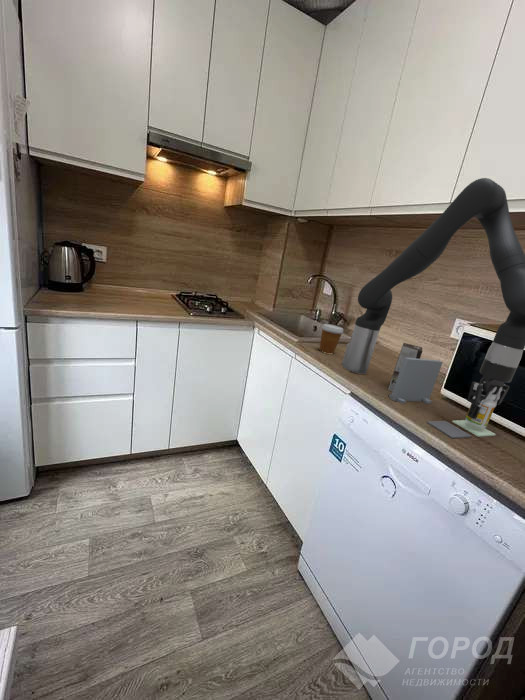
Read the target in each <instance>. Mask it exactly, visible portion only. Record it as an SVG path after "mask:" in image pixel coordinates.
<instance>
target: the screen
mask: <svg viewBox="0 0 525 700" xmlns="http://www.w3.org/2000/svg"><path fill="white" fill-rule="evenodd" d="M443 363H444V362H443V361H442V360H437V359H424V358H420V359H416V358H404V360H403V363H402V366H401V369H400V372H399V375H398V378H397V381H396V384H395V387H394V390H393V391H392V393H389V395H388V397H389V398H390V400H391V401H393V402H397V403H399V404H400V405H402V404H403V405H404V404H406V403H407V402H423V403H425V404H429V405H430V404H431V403H432V400H431V399H430V397H431V395H432V393H433V390H434V388H435V384H436V382H437V379H438V376H439V374H440V371H441V368H442V366H443Z"/></svg>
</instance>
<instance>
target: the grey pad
mask: <svg viewBox="0 0 525 700" xmlns="http://www.w3.org/2000/svg"><path fill="white" fill-rule="evenodd" d="M426 424H427V425H429V426H431V427H433V428H434V429H436V430H438V431H439V432H441V433H442V434H443V435H445V436H447V437H449V438H450V439H452V440H453V439H465V438H467V439H468V438H472V437H473V435H471V434H469V433H468V432H465V431H464V430H463V429H462V428H461V429H460V428H459V427H457V426H455V425H454V424H452V423H450V422H448V421H447V420H436V421H435V420H433V421H432V420H431V421H429V420H428V421H426Z"/></svg>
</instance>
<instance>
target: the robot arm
mask: <svg viewBox="0 0 525 700" xmlns="http://www.w3.org/2000/svg"><path fill="white" fill-rule="evenodd" d="M473 218H476V219H477V220H478V221H479V224H481V226H482V227H483V229H484V231H485V234H486V236H487V237H486V238H487V240H488V247H489V256H490V259H491V263H492V266H493V268H494V271H495V273H496V276H497V278H498V280H499V284H500V289H501V295H502V299H503V302H504V304H505V306H506V308H507V309H508V311H509V314H508V316H507V318H506V320H505V321H504V322H502V323H501V324H500V325H499V326H498V328H497V330H496V333H495V335H494V336H493V337H494V338H493V340H492V343H491V345H489V347H488V349H487V352H486V355H485V357H484V360H483V362H482V364H481V367H480V369H479V374H480V375H482V377H481V379H480V381H479V382H476V381H472V382H471V385H470V388H469V392H468V397H467V400H466V401H467V402H469V403H470V406H471V407H469V408H470V409H468V411H469V412H468V411H467V413H468V414H467V413H466V416H467V415H468V416H469V417H471V418H473V419H476V418H477V415H478V413H479V411H480V408H481V406H482V404H483V403H484V401H487V400H488V399H489V397H490V396H491V395H492V394H496V398H495V400H493V402H495V407H497V405H498V406H499V405H501V404H502V403H503V400H504V398H505V397H506V395H507V394H508V391H509V389H510V385H506V384H505V383H511V382H512V380H513V378H514V376H515V374H516V371H517V369H518V367H519V364H520V361H521V359H522V357H523V353H524V350H525V252H524V250H523V247H522V245H521V243H520V240H519V238H518V236H517V234H516V231H515V229H514V225H513V223H512V220H511V219H512V217H511V215H510V209H509V203H508V200H507V194H506V191H505V189H504V187H502V186H501V185H500V184H498V183H497V182H496V181H495V180H492V179H491V178H488V177H481V178H478V179H475V180H474V181H472V182H470V183H469V184H468V185H467V186H465V187H464V189H463V190H462V191H460V193H459V194H458V195H457V196H456V197H455V199H454V200H453V201H452V202H451V203H450V204H449V205H448V207H446V209H445V210H444V211H443V212H442V213H441V214H440V215H439V216H438V217H437V219H435V220H434V221H433V222H432V223H431V224H430V225H429V226H428V227H427V228H426V229H425V230H424V231H423V232H422V233H421V234H420V235H419V236H418V237H417V238H416V239H414V241H412V242H411V243H410V244H409V245H408V246H407V247H406V248H405V249H404V250H403V251H402V252H401V254H399V255H398V256H397V257H396V258H395V259H394V260H393V261H392V262H391V263H389V265H388V266H387V267H386V268H384V269H383V270H382V271H380V273H378V275H376V276H375V277H373V278H372V279H371V280H369V282H367V283H366V284H365V285H364V286H362V288H361V289H360V290H359V292H358V295H357V303H358V305H359V306H360V307H361V308H363V309H366V311H365V312H364V313H363V314H362V315H360V316H358V317H357V318H356V319H355V323H354V328H353V329H352V333H351V338H350V341H348V342H347V345H346V349H345V352H344V356H343V359H342V362H341V366H343V369H345V368H346V369H345V370H347V371H349V372H351V371H352V372H351V373H354V372H355V374H359V373H360V375H361V374H362V375H366V374H367V372H368V369H369V366H370V363H371V360H372V356H373V353H374V350H375V347H376V343H377V340H378V336H379V334H380V330H381V328H382V326H383V325H384V323H385V321H386V319H387V317H388V313H389V311H390V308H391V305H392V301H393V292H392V289H393V288H395V287H396V286H397V285H399V284H401V283H403V282H405V281H407V280H410V279H411V278H414V277H416V276H417V275H419V274H422V272H424V271H425V270H426V269H428V268H429V267H430V266H431V265H432V264H433V263H434V262H436V261H437V260H438V259H439V258H440V257H441V255H443V253H444V251H445V249H446V248H447V247H448V244H449V243H450V241H451V239H452V238H453V236H454V235H455V234H456V233H457V232H458V230H460V229H461V228H462V227H463V226H464V225H466V223H468V222H469V221H470V220H471V219H473ZM481 394H483V395H485V396H482V395H481ZM480 398H481V400H480ZM479 400H480V401H479Z"/></svg>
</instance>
